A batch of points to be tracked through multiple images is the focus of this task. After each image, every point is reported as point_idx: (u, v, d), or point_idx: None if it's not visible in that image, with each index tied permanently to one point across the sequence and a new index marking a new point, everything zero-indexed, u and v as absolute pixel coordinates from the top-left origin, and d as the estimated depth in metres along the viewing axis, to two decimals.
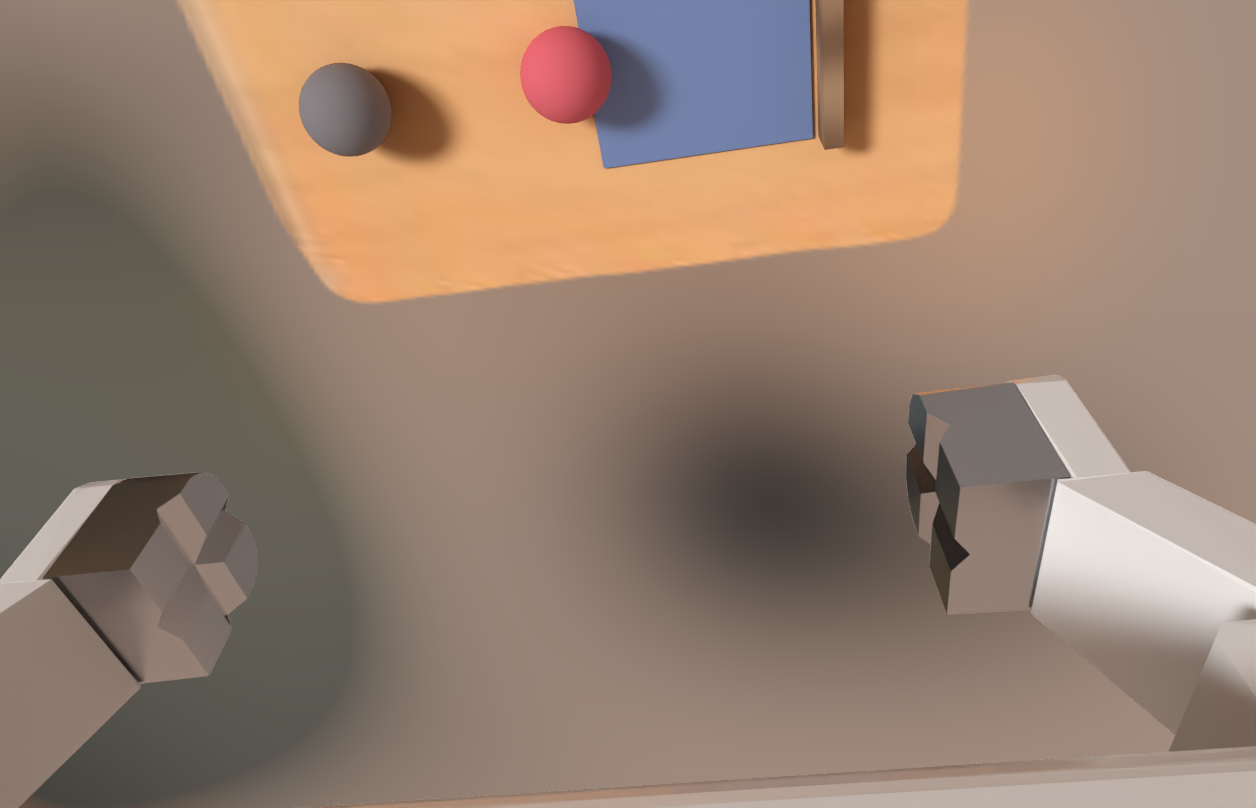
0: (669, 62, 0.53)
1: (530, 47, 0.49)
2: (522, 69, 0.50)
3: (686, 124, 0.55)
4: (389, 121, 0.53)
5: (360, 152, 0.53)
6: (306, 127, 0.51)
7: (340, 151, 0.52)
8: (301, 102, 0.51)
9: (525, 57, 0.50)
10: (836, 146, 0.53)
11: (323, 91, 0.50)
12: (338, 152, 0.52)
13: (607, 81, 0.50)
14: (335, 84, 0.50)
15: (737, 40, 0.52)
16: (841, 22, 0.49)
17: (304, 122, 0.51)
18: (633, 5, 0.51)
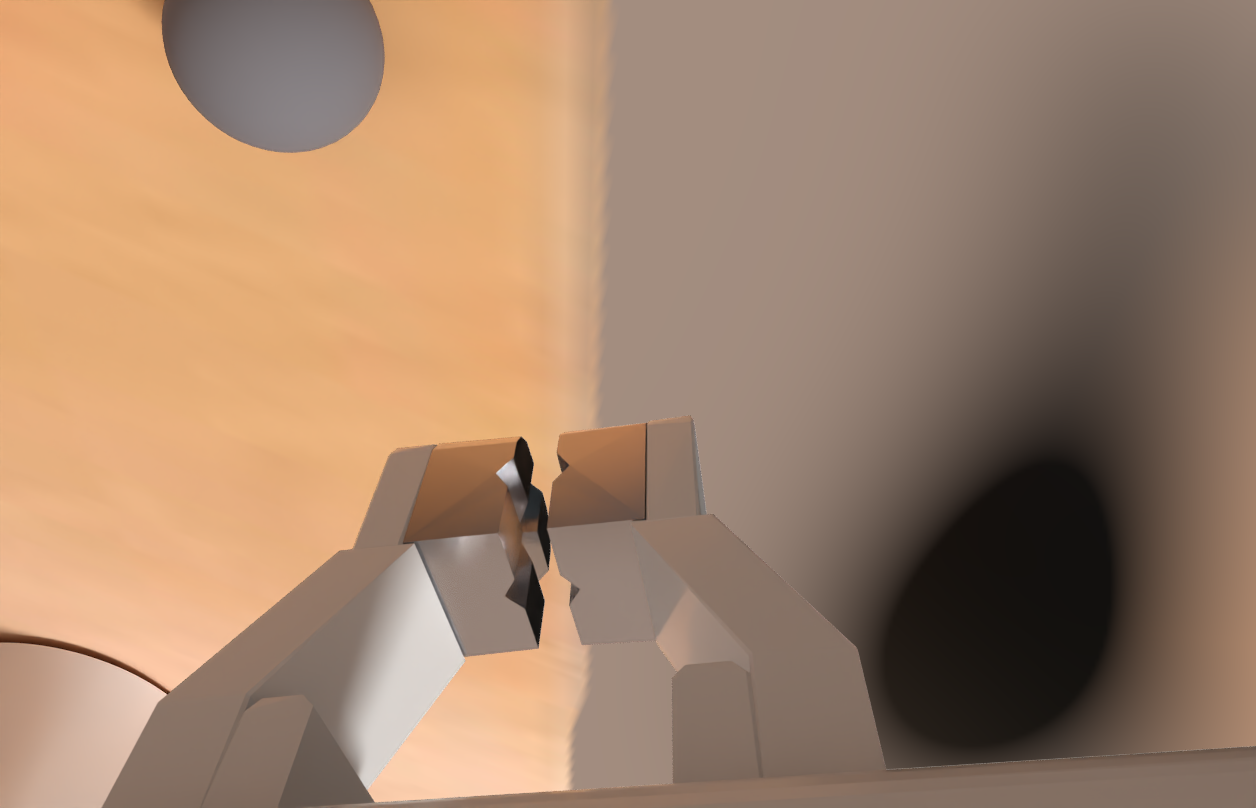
0: None
1: None
2: None
3: None
4: None
5: None
6: (334, 65, 0.21)
7: None
8: (339, 117, 0.22)
9: None
10: None
11: (266, 139, 0.22)
12: None
13: None
14: (245, 140, 0.22)
15: None
16: None
17: (336, 77, 0.21)
18: None
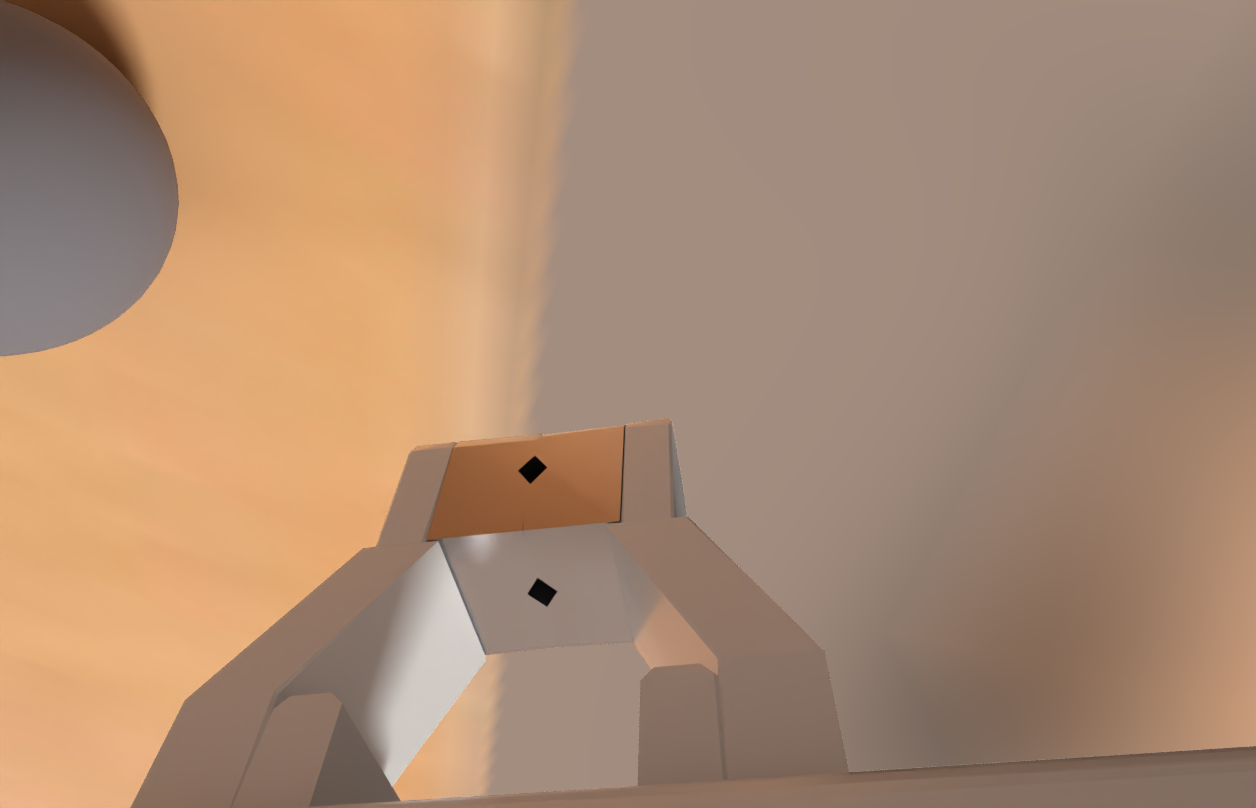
0: None
1: None
2: None
3: None
4: None
5: None
6: (53, 244, 0.12)
7: None
8: (72, 317, 0.13)
9: None
10: None
11: None
12: None
13: None
14: None
15: None
16: None
17: (58, 264, 0.12)
18: None
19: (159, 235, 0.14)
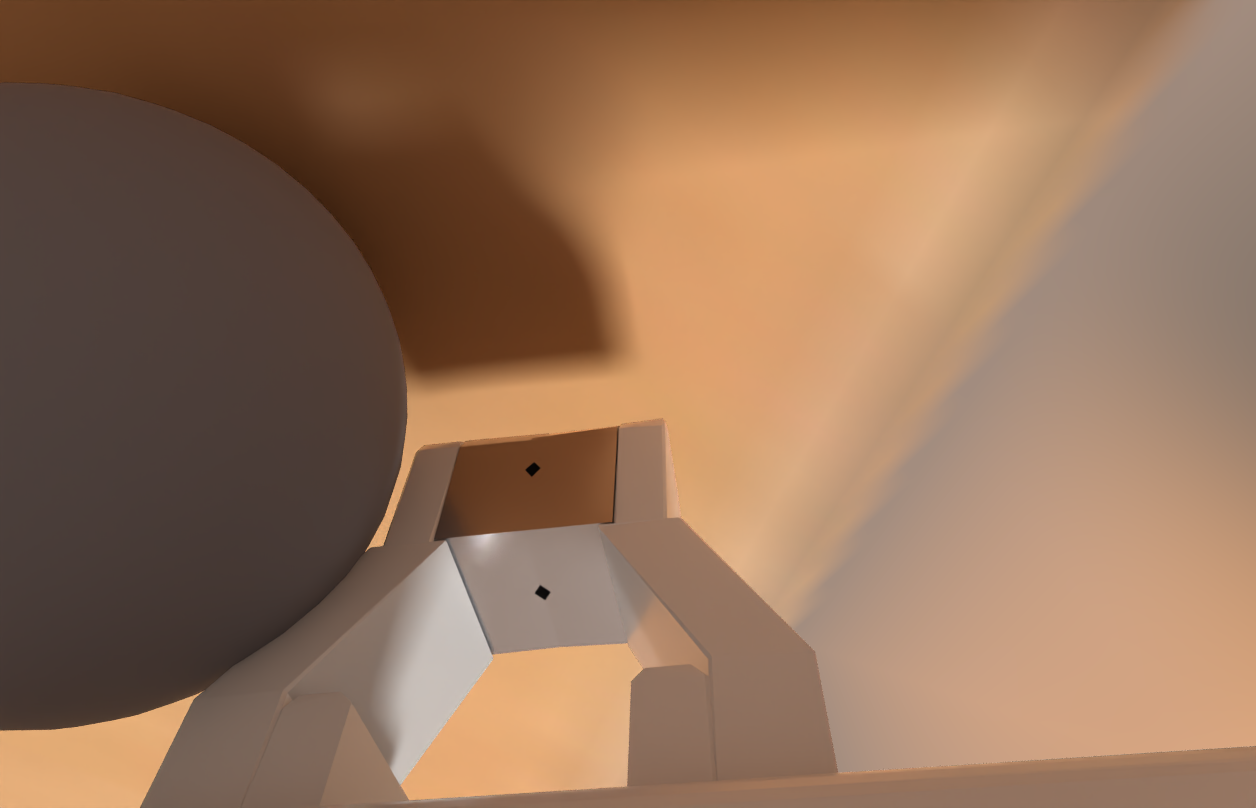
0: None
1: None
2: None
3: None
4: None
5: None
6: (240, 609, 0.06)
7: None
8: None
9: None
10: None
11: None
12: (25, 377, 0.05)
13: None
14: None
15: None
16: None
17: (237, 634, 0.07)
18: None
19: (378, 524, 0.08)
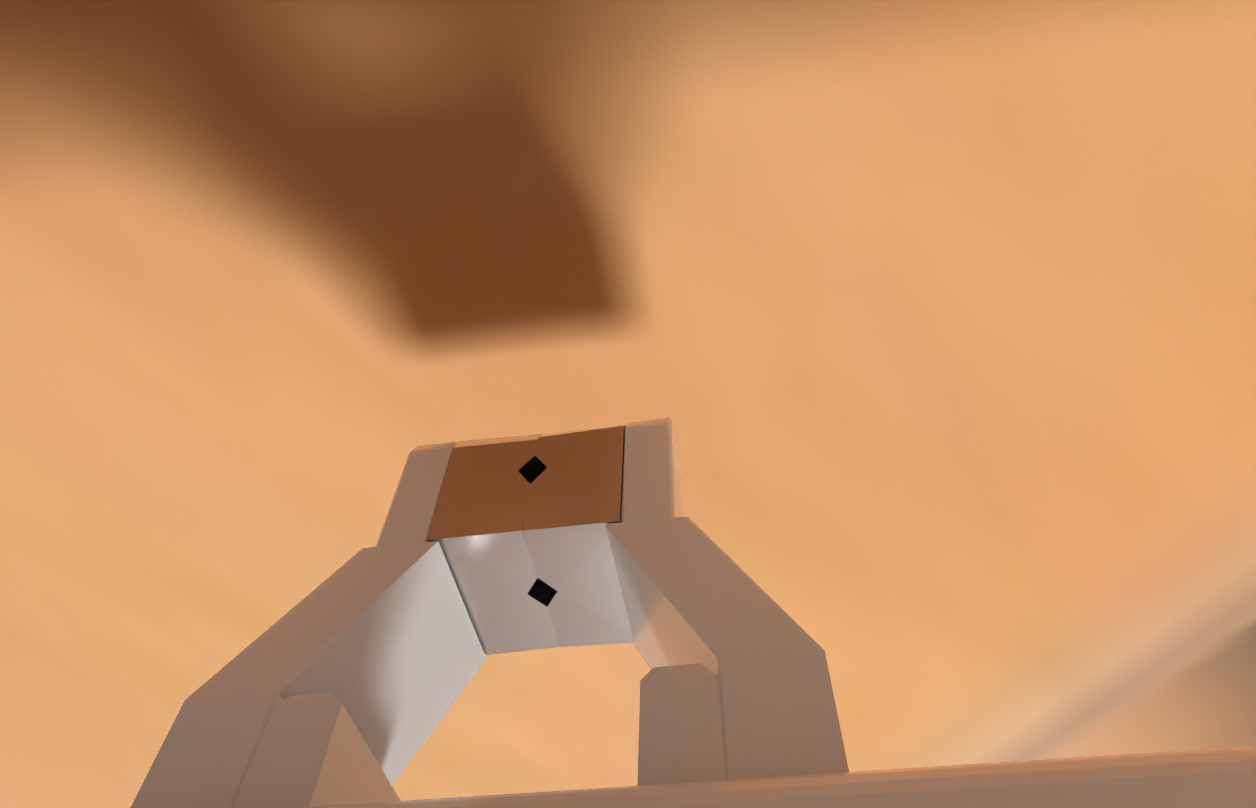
0: None
1: None
2: None
3: None
4: None
5: None
6: None
7: None
8: None
9: None
10: None
11: None
12: None
13: None
14: None
15: None
16: None
17: None
18: None
19: None
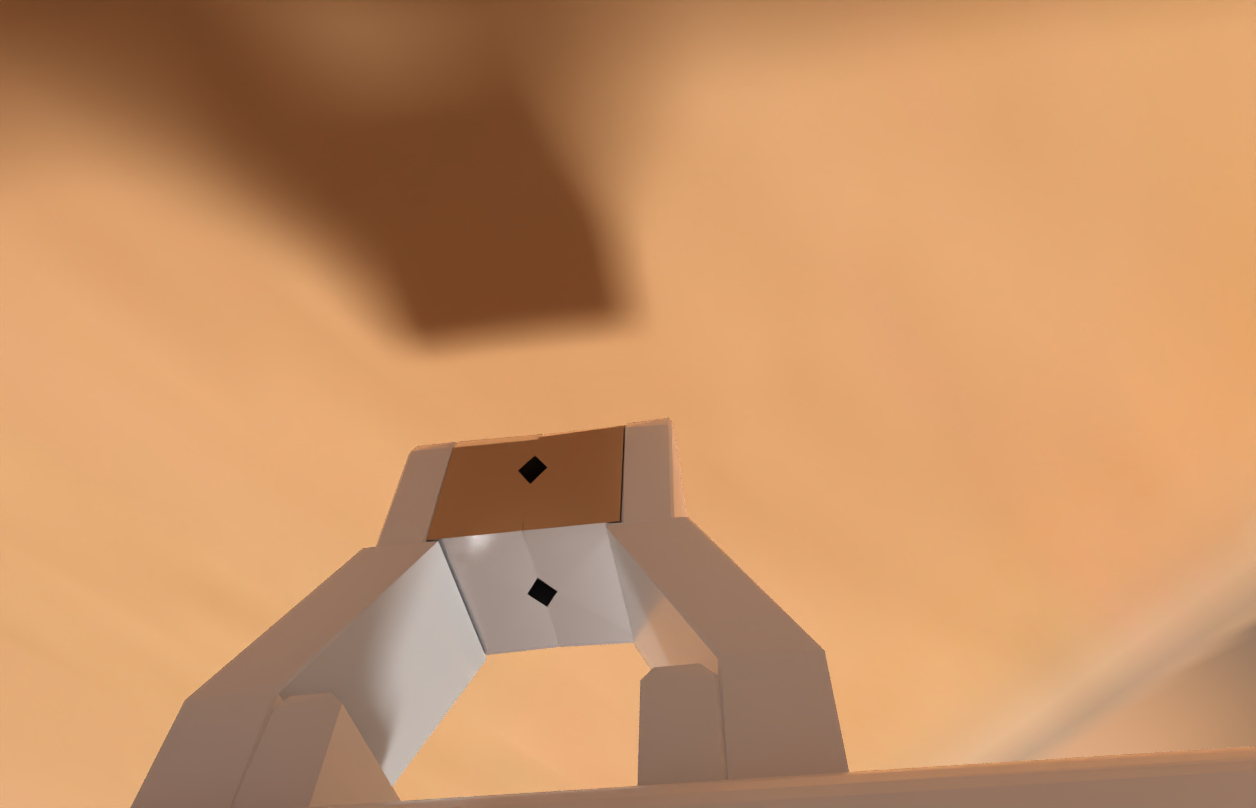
0: None
1: None
2: None
3: None
4: None
5: None
6: None
7: None
8: None
9: None
10: None
11: None
12: None
13: None
14: None
15: None
16: None
17: None
18: None
19: None
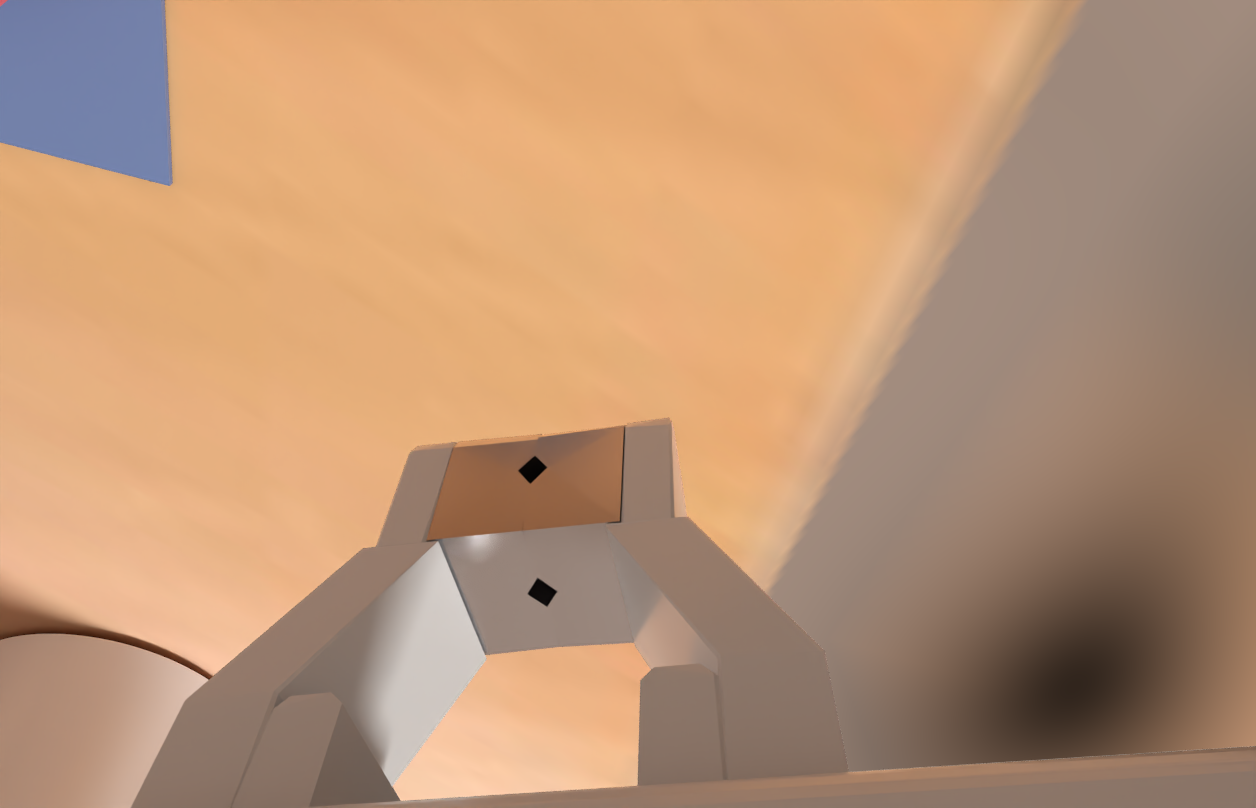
0: None
1: None
2: None
3: None
4: None
5: None
6: None
7: None
8: None
9: None
10: None
11: None
12: None
13: None
14: None
15: None
16: None
17: None
18: (32, 3, 0.23)
19: None
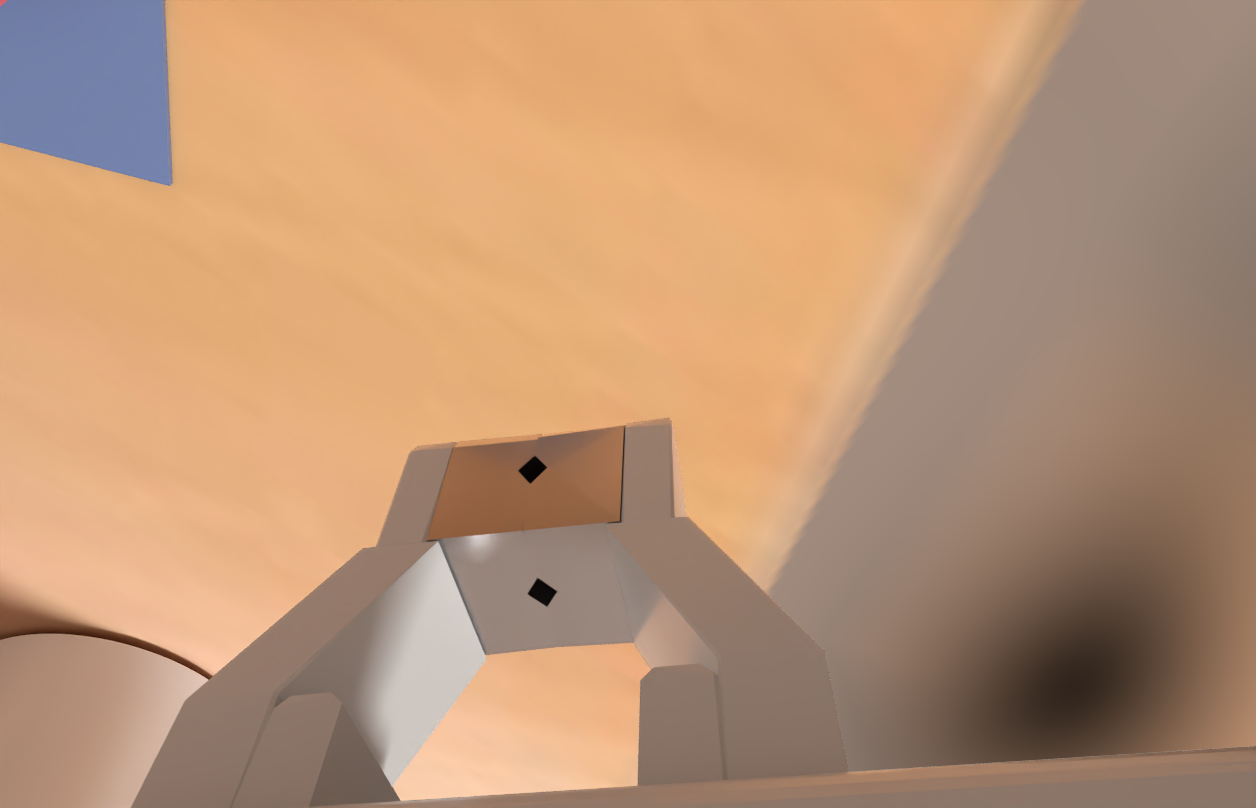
0: None
1: None
2: None
3: None
4: None
5: None
6: None
7: None
8: None
9: None
10: None
11: None
12: None
13: None
14: None
15: None
16: None
17: None
18: (32, 3, 0.23)
19: None
